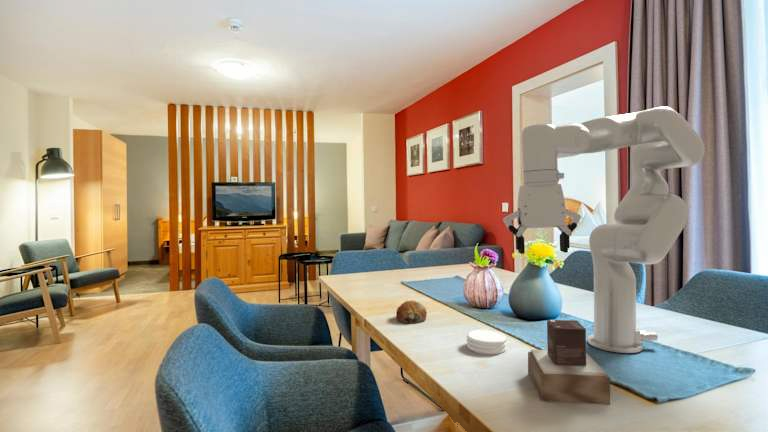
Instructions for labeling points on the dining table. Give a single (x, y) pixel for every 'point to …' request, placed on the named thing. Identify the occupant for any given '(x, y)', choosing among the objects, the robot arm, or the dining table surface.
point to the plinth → (568, 380)
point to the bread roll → (411, 312)
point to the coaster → (486, 342)
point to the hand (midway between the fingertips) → (542, 252)
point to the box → (566, 342)
